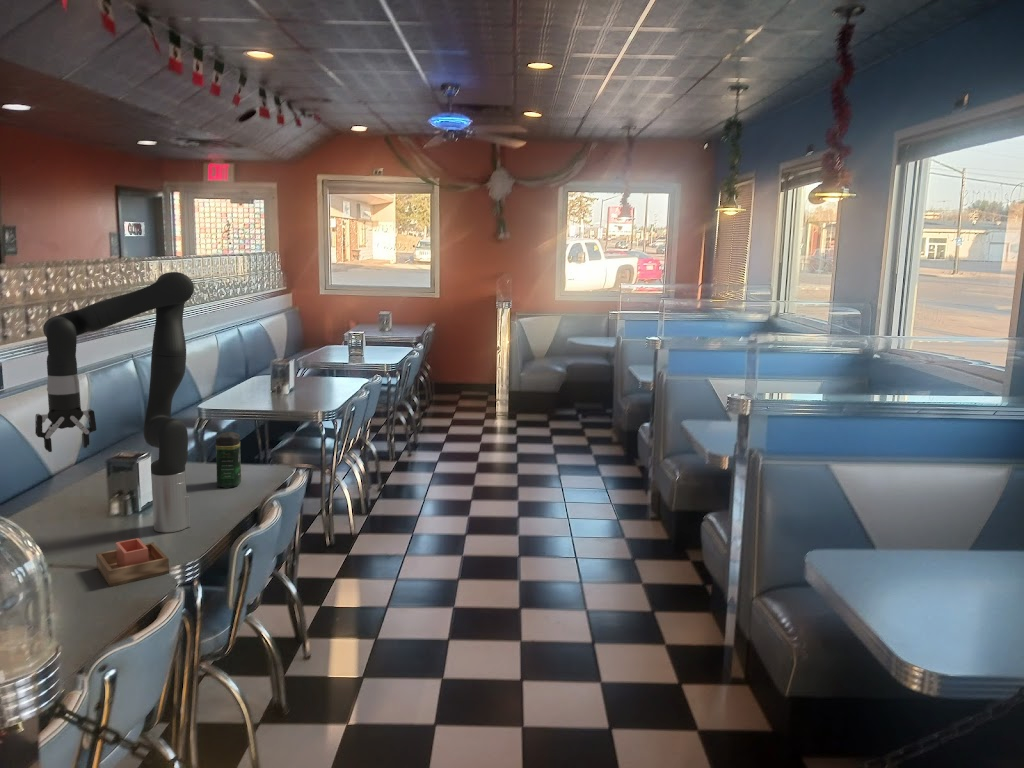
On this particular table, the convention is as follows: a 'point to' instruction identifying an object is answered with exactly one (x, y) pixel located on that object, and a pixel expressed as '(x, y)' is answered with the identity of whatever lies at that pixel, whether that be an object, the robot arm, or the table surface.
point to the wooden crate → (132, 566)
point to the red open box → (131, 552)
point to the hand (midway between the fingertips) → (67, 449)
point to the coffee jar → (228, 459)
